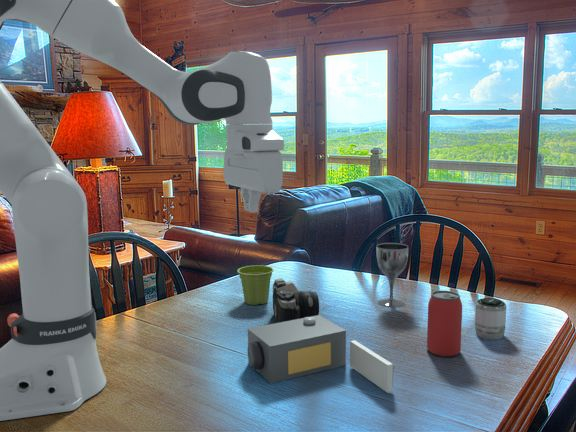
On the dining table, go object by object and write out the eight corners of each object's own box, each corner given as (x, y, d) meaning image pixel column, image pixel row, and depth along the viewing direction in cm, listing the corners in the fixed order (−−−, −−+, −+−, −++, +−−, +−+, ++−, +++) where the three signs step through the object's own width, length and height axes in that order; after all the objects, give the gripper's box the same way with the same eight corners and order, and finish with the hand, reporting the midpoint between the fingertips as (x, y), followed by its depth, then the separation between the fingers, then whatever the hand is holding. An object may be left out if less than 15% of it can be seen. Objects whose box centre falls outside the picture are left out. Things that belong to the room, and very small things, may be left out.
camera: (325, 333, 126) (325, 289, 124) (279, 336, 124) (278, 292, 122) (310, 310, 141) (310, 271, 139) (269, 313, 139) (268, 273, 138)
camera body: (265, 385, 101) (264, 343, 99) (242, 364, 110) (241, 325, 108) (346, 365, 108) (346, 326, 107) (319, 347, 117) (319, 311, 116)
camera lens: (509, 334, 123) (511, 299, 122) (497, 342, 119) (499, 306, 118) (481, 327, 128) (483, 294, 126) (469, 335, 123) (470, 300, 122)
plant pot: (231, 305, 145) (230, 272, 144) (248, 294, 154) (247, 263, 152) (264, 309, 142) (264, 275, 140) (279, 298, 150) (279, 266, 149)
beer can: (455, 360, 110) (457, 301, 108) (422, 353, 114) (424, 296, 112) (464, 349, 116) (466, 292, 114) (432, 342, 119) (434, 287, 117)
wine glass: (411, 301, 147) (413, 244, 144) (400, 309, 140) (401, 250, 138) (382, 296, 151) (383, 241, 148) (370, 304, 144) (371, 247, 142)
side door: (395, 390, 97) (395, 363, 96) (387, 392, 97) (387, 365, 96) (357, 364, 108) (357, 339, 107) (349, 366, 107) (350, 341, 106)
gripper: (215, 139, 116) (217, 206, 118) (256, 141, 98) (258, 220, 100) (243, 138, 118) (245, 203, 121) (288, 140, 101) (289, 217, 103)
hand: (251, 211), depth 110 cm, fingers closed
